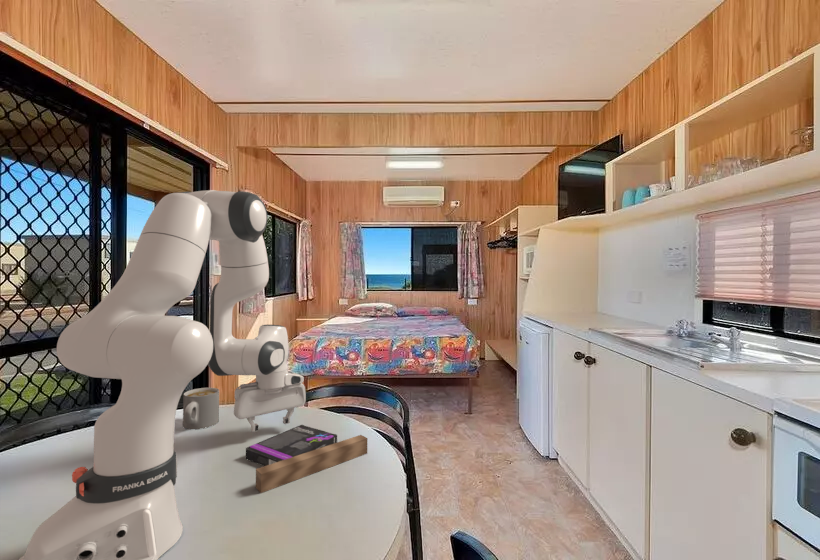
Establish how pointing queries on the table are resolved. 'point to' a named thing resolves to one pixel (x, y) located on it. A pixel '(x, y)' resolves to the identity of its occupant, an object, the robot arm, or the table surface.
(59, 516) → the robot arm
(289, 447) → the box
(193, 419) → the coffee mug
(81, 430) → the table surface
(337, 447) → the walnut board
